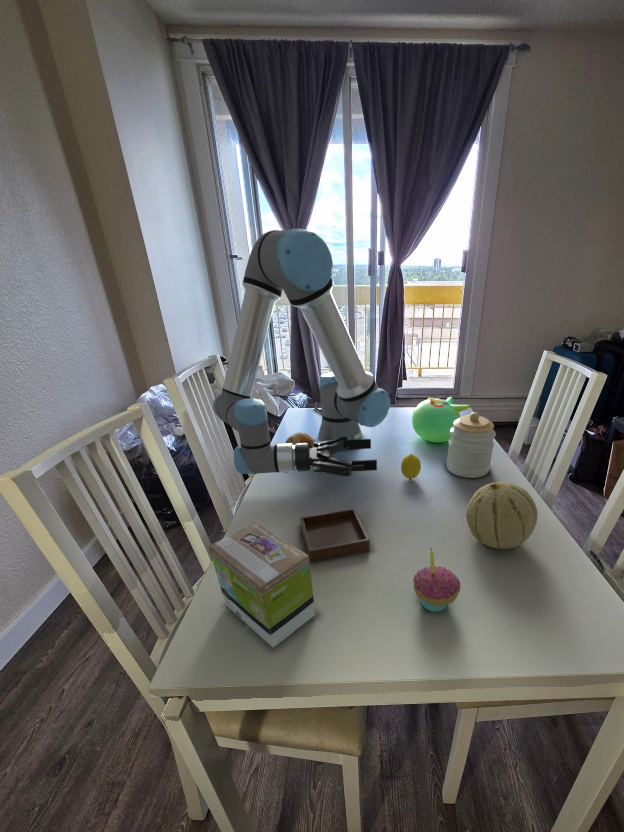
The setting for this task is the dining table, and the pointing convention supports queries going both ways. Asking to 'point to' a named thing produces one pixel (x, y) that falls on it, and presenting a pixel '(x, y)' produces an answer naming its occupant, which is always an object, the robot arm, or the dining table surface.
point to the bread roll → (300, 439)
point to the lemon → (410, 466)
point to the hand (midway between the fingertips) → (373, 453)
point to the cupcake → (436, 586)
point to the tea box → (264, 581)
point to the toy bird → (436, 418)
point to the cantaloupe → (501, 515)
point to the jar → (470, 446)
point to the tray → (334, 534)
